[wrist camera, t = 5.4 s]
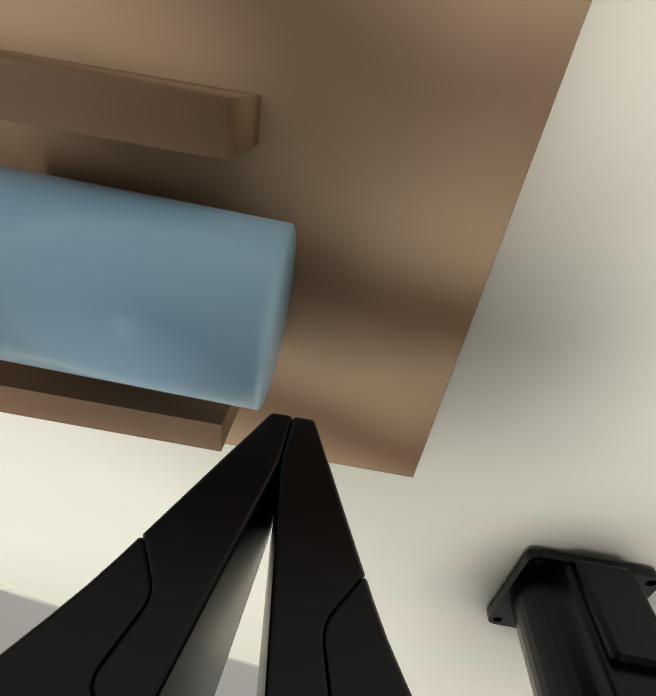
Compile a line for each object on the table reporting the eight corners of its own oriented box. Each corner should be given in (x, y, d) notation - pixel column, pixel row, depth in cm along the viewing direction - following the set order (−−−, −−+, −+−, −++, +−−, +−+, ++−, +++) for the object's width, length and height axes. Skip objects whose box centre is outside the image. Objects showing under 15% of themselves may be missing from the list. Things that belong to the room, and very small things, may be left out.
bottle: (246, 450, 11) (-183, 367, 11) (283, 347, 16) (-23, 287, 15) (264, 263, 8) (-306, 150, 8) (303, 202, 13) (-69, 129, 13)
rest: (412, 466, 19) (418, 540, 16) (-32, 387, 19) (-110, 445, 16) (619, -99, 9) (735, -187, 6) (-278, -255, 9) (-591, -417, 6)
